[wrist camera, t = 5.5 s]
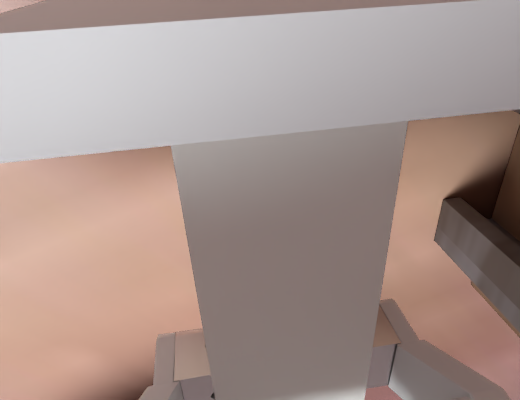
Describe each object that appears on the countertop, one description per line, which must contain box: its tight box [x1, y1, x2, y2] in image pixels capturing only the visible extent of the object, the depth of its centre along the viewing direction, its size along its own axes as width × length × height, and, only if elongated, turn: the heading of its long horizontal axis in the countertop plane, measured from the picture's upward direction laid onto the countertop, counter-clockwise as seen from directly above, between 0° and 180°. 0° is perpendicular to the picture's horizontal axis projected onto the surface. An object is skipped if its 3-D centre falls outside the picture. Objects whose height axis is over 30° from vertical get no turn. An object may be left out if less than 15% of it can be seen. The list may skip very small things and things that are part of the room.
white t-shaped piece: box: [0, 0, 520, 400], centre depth 11 cm, size 17×8×6 cm, turn 3°
